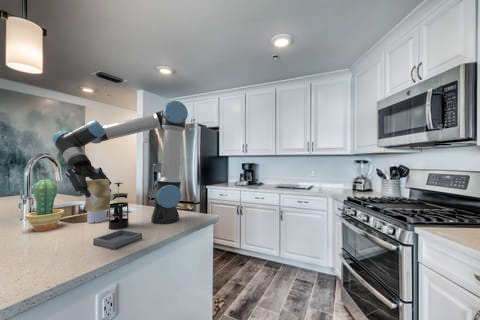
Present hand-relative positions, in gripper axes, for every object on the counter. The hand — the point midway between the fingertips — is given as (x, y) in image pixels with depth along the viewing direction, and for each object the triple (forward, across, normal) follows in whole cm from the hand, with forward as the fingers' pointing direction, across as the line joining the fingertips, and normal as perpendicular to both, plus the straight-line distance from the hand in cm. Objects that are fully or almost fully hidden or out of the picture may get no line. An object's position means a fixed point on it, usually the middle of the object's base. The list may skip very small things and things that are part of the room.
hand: (103, 200), depth 88 cm
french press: (-1, -21, -28) cm, 35 cm away
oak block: (0, 0, -5) cm, 5 cm away
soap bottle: (-16, -24, -43) cm, 51 cm away
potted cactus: (-25, -5, -51) cm, 57 cm away
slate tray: (+13, -6, -14) cm, 20 cm away
